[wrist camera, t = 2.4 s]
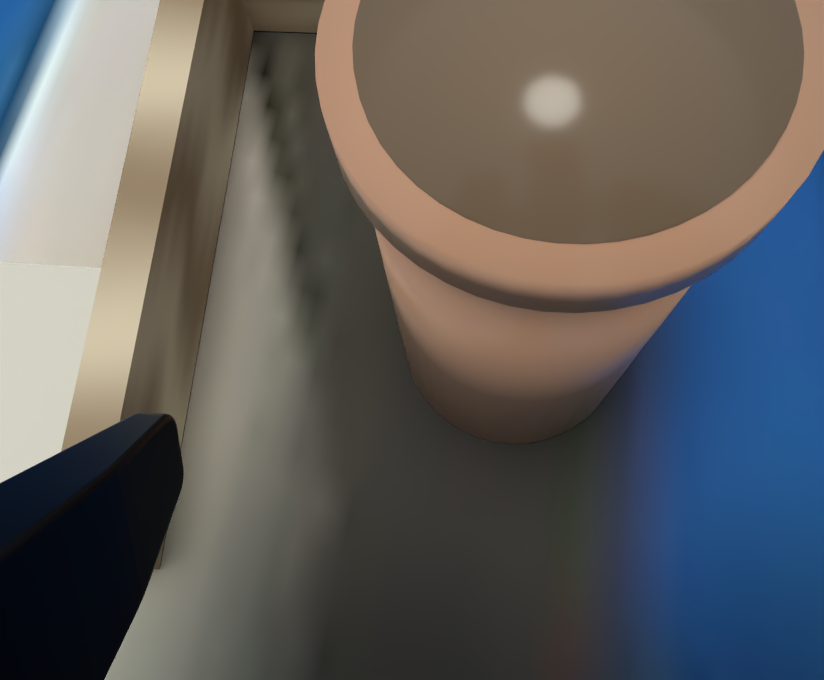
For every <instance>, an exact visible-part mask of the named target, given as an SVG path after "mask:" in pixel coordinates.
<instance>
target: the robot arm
mask: <svg viewBox="0 0 824 680" xmlns="http://www.w3.org/2000/svg"><path fill="white" fill-rule="evenodd" d="M182 483H183V464H182V457H181V450H180V443H179V436H178V430H177V424H176V422H175V419H174V418H173V417H172V416H171V415H170V414H163V413H151V412H138V413H135V414H133V415H131V416H129V417H127V418H126V419H124V420H122V421H120V422H118V423H116V424H114V425H112V426H110V427H108V428H106V429H104V430H102V431H100V432H98V433H96V434H94V435H92V436H91V437H89V438H87V439H85V440H83V441H81V442H79V443H77V444H75V445H73V446H71V447H69V448H67V449H65V450H63V451H61V452H59V453H57V454H56V455H54V456H52V457H50V458H48V459H46V460H44V461H42V462H40V463H38V464H36V465H34V466H32V467H30V468H28V469H26V470H24V471H22V472H21V473H19V474H17V475H15V476H13V477H11V478H9V479H7V480H5V481H3V482H1V483H0V680H104V679H105V677H106V675H107V673H108V670H109V668H110V666H111V664H112V662H113V660H114V658H115V656H116V654H117V652H118V650H119V648H120V646H121V644H122V641H123V639H124V637H125V635H126V633H127V631H128V629H129V627H130V625H131V623H132V621H133V619H134V617H135V614H136V612H137V610H138V608H139V605H140V603H141V601H142V599H143V596H144V594H145V591H146V588H147V586H148V583H149V580H150V578H151V575H152V572H153V569H154V566H155V563H156V560H157V557H158V555H159V552H160V549H161V546H162V543H163V540H164V537H165V534H166V532H167V529H168V526H169V523H170V520H171V517H172V514H173V511H174V509H175V506H176V503H177V500H178V497H179V494H180V491H181V488H182Z"/></svg>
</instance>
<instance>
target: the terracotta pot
mask: <svg viewBox="0 0 824 680" xmlns="http://www.w3.org/2000/svg"><path fill="white" fill-rule="evenodd" d="M315 71H316V84H317V89H318V94H319V100H320V105H321V110H322V113H323V117H324V120H325V123H326V127H327V130H328V133H329V137H330V140H331V144H332V147H333V150H334V153H335V156H336V159H337V162H338V165H339V167H340V170H341V173H342V176H343V178H344V180H345V182H346V184H347V186H348V188H349V189H350V191H351V193H352V195H353V197H354V199H355V201H356V202H357V204H358V205H359V207H360V208H361V209H362V211H363V212H364V214H365V215H366V216H367V218H368V219H369V220H370V222H371V223H372V225H373V226H374V227H375V231H376V235H377V239H378V243H379V247H380V251H381V255H382V259H383V263H384V268H385V272H386V276H387V280H388V284H389V288H390V292H391V296H392V300H393V304H394V308H395V312H396V317H397V321H398V325H399V329H400V333H401V337H402V341H403V345H404V349H405V353H406V357H407V361H408V365H409V368H410V371H411V374H412V377H413V379H414V381H415V383H416V385H417V387H418V389H419V391H420V392H421V394H422V395H423V397H424V398H425V399H426V401H427V402H428V403H429V404H430V406H431V407H432V408H433V409H434V410H435V411H436V412H437V413H438V414H439V415H440V416H442V417H443V418H444V419H445V420H446V421H448V422H449V423H451V424H452V425H454V426H455V427H457V428H458V429H460V430H462V431H464V432H466V433H468V434H471V435H473V436H476V437H479V438H482V439H485V440H488V441H494V442H499V443H511V444H520V443H532V442H537V441H542V440H546V439H549V438H552V437H555V436H558V435H560V434H562V433H564V432H566V431H568V430H570V429H572V428H573V427H575V426H576V425H578V424H579V423H581V422H582V421H583V420H585V419H586V418H587V417H588V416H589V415H590V414H591V413H592V412H593V411H594V410H595V409H596V408H597V407H598V406H599V404H600V403H601V402H602V401H603V400H604V398H605V397H606V396H607V394H608V393H609V392H610V390H611V389H612V388H613V387H614V385H615V384H616V383H617V381H618V380H619V379H620V377H621V376H622V375H623V374H624V372H625V371H626V370H627V368H628V367H629V366H630V364H631V363H632V362H633V361H634V359H635V358H636V357H637V355H638V354H639V353H640V351H641V350H642V349H643V348H644V346H645V345H646V344H647V342H648V341H649V340H650V338H651V337H652V336H653V335H654V333H655V332H656V331H657V329H658V328H659V327H660V325H661V324H662V323H663V322H664V320H665V319H666V318H667V316H668V315H669V314H670V312H671V311H672V310H673V309H674V307H675V306H676V305H677V303H678V302H679V301H680V299H681V298H682V297H683V296H684V294H685V293H686V292H687V290H688V289H689V288H690V286H691V285H693V284H695V283H697V282H699V281H701V280H703V279H705V278H707V277H708V276H710V275H711V274H713V273H714V272H716V271H717V270H719V269H720V268H721V267H723V266H724V265H726V264H727V263H729V262H730V261H732V260H733V259H734V258H735V257H736V256H738V255H739V254H740V253H741V252H742V251H743V250H744V249H745V248H746V247H747V246H749V245H750V244H751V243H752V242H753V241H754V240H755V239H756V238H757V237H758V236H759V235H760V233H761V232H762V231H763V230H764V229H765V228H766V226H767V225H768V224H769V223H770V222H771V220H772V219H773V218H774V217H775V216H776V215H777V213H778V212H779V211H780V210H781V209H782V208H783V206H784V205H785V204H786V203H787V202H788V200H789V199H790V198H791V197H792V196H793V194H794V193H795V192H796V191H797V189H798V188H799V187H800V186H801V185H802V183H803V182H804V181H805V180H806V178H807V177H808V176H809V174H810V172H811V170H812V169H813V167H814V165H815V164H816V162H817V160H818V159H819V157H820V155H821V154H822V152H823V150H824V0H325V1H324V5H323V9H322V12H321V16H320V19H319V23H318V30H317V38H316V47H315Z"/></svg>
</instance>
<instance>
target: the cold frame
mask: <svg viewBox="0 0 824 680" xmlns="http://www.w3.org/2000/svg"><path fill="white" fill-rule="evenodd" d="M324 1H325V0H160V3H159V7H158V12H157V17H156V21H155V26H154V30H153V35H152V39H151V44H150V48H149V53H148V58H147V62H146V67H145V71H144V76H143V80H142V85H141V89H140V94H139V99H138V103H137V108H136V112H135V117H134V121H133V126H132V131H131V135H130V140H129V144H128V149H127V153H126V158H125V162H124V167H123V172H122V176H121V181H120V185H119V190H118V194H117V199H116V203H115V208H114V213H113V217H112V222H111V226H110V231H109V235H108V240H107V244H106V249H105V254H104V258H103V263H102V267H101V272H100V276H99V281H98V285H97V290H96V295H95V299H94V304H93V308H92V313H91V317H90V322H89V326H88V331H87V336H86V340H85V345H84V349H83V354H82V358H81V363H80V367H79V372H78V377H77V381H76V386H75V390H74V395H73V399H72V404H71V408H70V413H69V418H68V422H67V427H66V431H65V436H64V440H63V445H62V449H61V451H63V450H65V449H67V448H69V447H71V446H73V445H75V444H77V443H79V442H81V441H83V440H85V439H87V438H89V437H91V436H92V435H94V434H96V433H98V432H100V431H102V430H104V429H106V428H108V427H110V426H112V425H114V424H116V423H118V422H120V421H122V420H124V419H126V418H127V417H129V416H131V415H133V414H135V413H138V412H151V413H163V414H170V415H171V416H172V417H173V418H174V419H175V422H176V424H177V430H178V436H179V443H180V449H181V444H182V438H183V432H184V427H185V421H186V415H187V410H188V404H189V398H190V392H191V387H192V381H193V375H194V370H195V364H196V358H197V353H198V347H199V341H200V335H201V330H202V324H203V318H204V313H205V307H206V301H207V295H208V290H209V284H210V278H211V273H212V267H213V261H214V256H215V250H216V244H217V238H218V233H219V227H220V221H221V216H222V210H223V204H224V199H225V193H226V187H227V181H228V176H229V170H230V164H231V159H232V153H233V147H234V141H235V136H236V130H237V124H238V119H239V113H240V107H241V102H242V96H243V90H244V84H245V79H246V73H247V67H248V62H249V56H250V50H251V45H252V39H253V33H254V31H278V32H306V33H317V30H318V23H319V19H320V16H321V12H322V9H323V5H324ZM165 535H166V534H165ZM164 541H165V537H164V540H163V543H162V546H161V549H160V552H159V555H158V557H157V560H156V563H155V566H154V569H160V564H161V558H162V552H163V546H164Z"/></svg>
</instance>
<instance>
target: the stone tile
mask: <svg viewBox="0 0 824 680" xmlns="http://www.w3.org/2000/svg"><path fill="white" fill-rule="evenodd" d="M100 272H101V268H93V267H77V266H61V265H45V264H29V263H13V262H0V483H1V482H3V481H5V480H7V479H9V478H11V477H13V476H15V475H17V474H19V473H21V472H22V471H24V470H26V469H28V468H30V467H32V466H34V465H36V464H38V463H40V462H42V461H44V460H46V459H48V458H50V457H52V456H54V455H56V454H57V453H59V452H61V449H62V445H63V440H64V436H65V431H66V427H67V422H68V418H69V413H70V408H71V404H72V399H73V395H74V390H75V386H76V381H77V377H78V372H79V367H80V363H81V358H82V354H83V349H84V345H85V340H86V336H87V331H88V326H89V322H90V317H91V313H92V308H93V304H94V299H95V295H96V290H97V285H98V281H99V276H100Z"/></svg>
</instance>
